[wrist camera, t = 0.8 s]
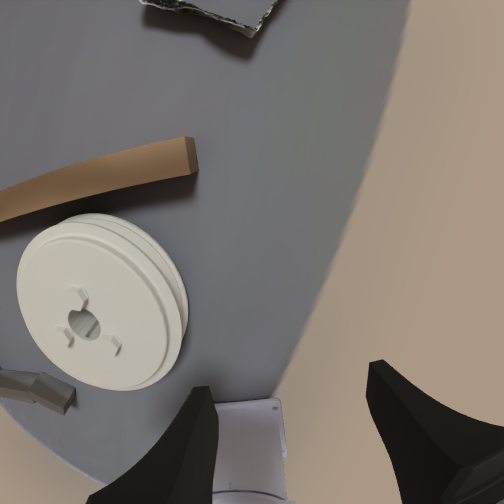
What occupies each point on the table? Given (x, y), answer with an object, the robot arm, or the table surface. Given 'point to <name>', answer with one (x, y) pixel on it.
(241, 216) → the table surface
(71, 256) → the lid
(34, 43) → the table surface
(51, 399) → the u-shaped bar frame
